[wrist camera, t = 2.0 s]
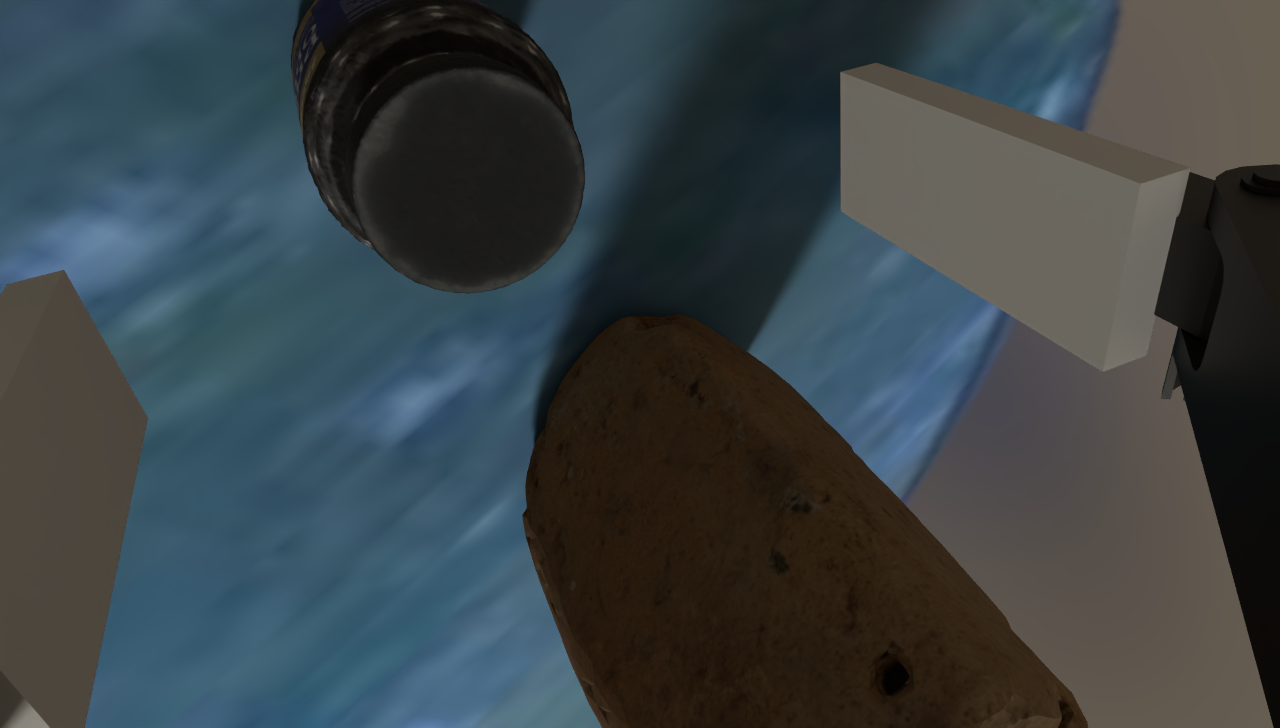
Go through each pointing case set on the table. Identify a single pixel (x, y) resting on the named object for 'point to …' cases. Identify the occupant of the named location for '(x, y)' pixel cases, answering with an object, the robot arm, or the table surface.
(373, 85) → the pill bottle
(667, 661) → the block
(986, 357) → the table surface
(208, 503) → the table surface
